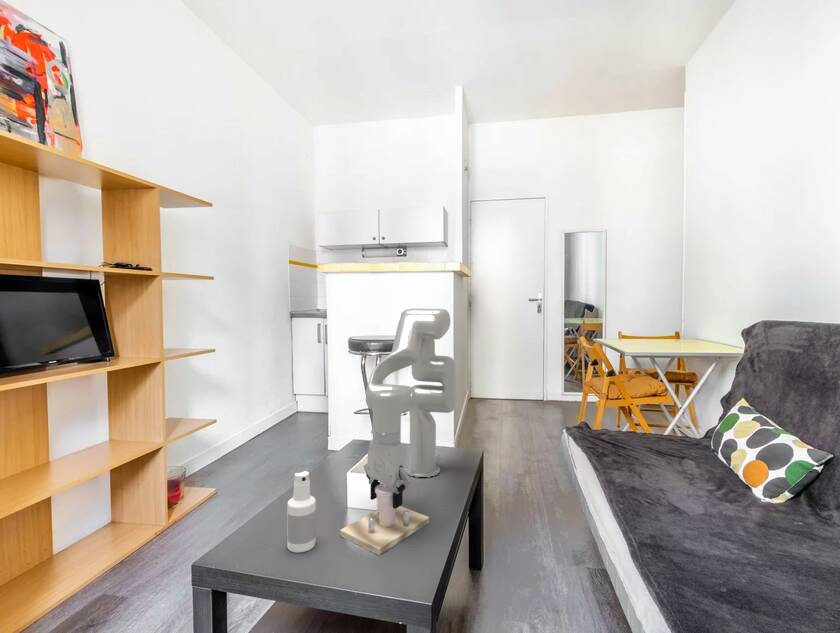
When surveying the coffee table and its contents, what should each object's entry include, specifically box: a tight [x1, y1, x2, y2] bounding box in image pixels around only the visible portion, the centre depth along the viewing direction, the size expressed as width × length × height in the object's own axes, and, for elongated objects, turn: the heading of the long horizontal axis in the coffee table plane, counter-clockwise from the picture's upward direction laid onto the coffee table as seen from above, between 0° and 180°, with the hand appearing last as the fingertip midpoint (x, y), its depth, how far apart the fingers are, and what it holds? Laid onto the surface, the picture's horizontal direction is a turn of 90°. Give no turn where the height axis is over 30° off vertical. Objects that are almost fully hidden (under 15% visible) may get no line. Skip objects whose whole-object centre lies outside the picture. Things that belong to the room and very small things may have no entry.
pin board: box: [339, 502, 430, 556], centre depth 112 cm, size 20×14×5 cm
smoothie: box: [375, 482, 395, 527], centre depth 112 cm, size 6×6×14 cm
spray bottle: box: [286, 470, 317, 554], centre depth 104 cm, size 7×7×18 cm
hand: (386, 501), depth 112 cm, fingers open, 7 cm apart
